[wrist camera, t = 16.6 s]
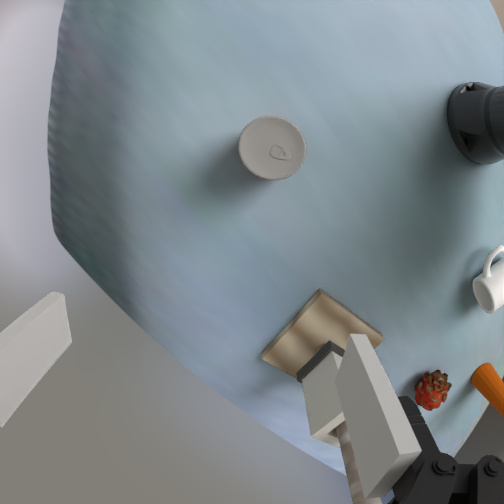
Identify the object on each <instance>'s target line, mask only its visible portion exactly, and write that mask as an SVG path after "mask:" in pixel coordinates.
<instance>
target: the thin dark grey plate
mask: <svg viewBox="0 0 504 504" xmlns="http://www.w3.org/2000/svg"><path fill="white" fill-rule="evenodd" d="M331 351H333V352H334V353H336V354H338V355H339V356H341V357H343V355H344V352H345V350H344V349H343V348H341V347H339V346H338V345H336V344H335V343H333V342H332V341H330V340H329V341H328V342H327V343H326V344H325V345H324V346H323V347H322V348H321V349H320V350H319V351H318V352H317V353H316V354H315V355H314V356H313V357H312V358H311V359H310V360H309V361H308V362H307V363H306V364H305V365H304V366H303V367H302V368H301V369H300V370H299V371H298V372H297V373H296V375H297V381H299V382H301V383H302V379H303V378H305V377H306V376H307V375H308V374H309V373H310V372H311V371H312V370H313V369H314V368H315V367H316V366H317V365H318V364H319V363H320V362H321V361H322V360H323V359H324V358H325V357H326V356H327V355H328V354H329V353H330V352H331Z"/></svg>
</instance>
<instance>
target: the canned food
mask: <svg viewBox="0 0 504 504" xmlns="http://www.w3.org/2000/svg"><path fill="white" fill-rule="evenodd" d="M238 152H239V156H240V159H241V161H242V163H243V164H244V166H245V167H246V168H247V169H248V170H249V171H250V172H251V173H252V174H254V175H256V176H258V177H260V178H263V179H267V180H280V179H285V178H287V177H289V176H291V175H292V174H294V173H295V172H296V171H297V170H298V169H299V168H300V167H301V165H302V164H303V162H304V159H305V155H306V143H305V140H304V137H303V135H302V133H301V132H300V130H299V129H298V128H297V127H296V126H295V125H294V124H293V123H291V122H290V121H288V120H286V119H284V118H281V117H276V116H265V117H260V118H258V119H255V120H253V121H252V122H250V123H249V124H248V125H247V126H246V127H245V128H244V129H243V131H242V133H241V135H240V138H239V141H238Z"/></svg>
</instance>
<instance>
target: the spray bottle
mask: <svg viewBox="0 0 504 504" xmlns="http://www.w3.org/2000/svg"><path fill="white" fill-rule="evenodd" d="M471 383H472V384H473V385H474V386H475V387H476V388H477V390H478V391H479V392H480V393H481V394H482V395H483V396H484V397H485V398H486V399H487V400H488V401H489V402H490V403H491V404H492V405H493V406H494V407H495V408H496V409H497V410H498V412H499V413H500V414H501V415H502V416H503V417H504V383H503V381H502V380H501V378H500V377H499V375H498V374H497V372H496V371H495V370H494V368H493V367H492V365H491V364H490V363H485V364H483V365H482V366H480V367H479V368H478V369H477V370H476V371H475V372H474V374H473V376H472V378H471Z"/></svg>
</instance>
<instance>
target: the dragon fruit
mask: <svg viewBox="0 0 504 504" xmlns="http://www.w3.org/2000/svg"><path fill="white" fill-rule="evenodd" d="M447 377H448V375H447V374H446V373H444V374H442V373H441V372H440V370H436V371H434V372H433V373H431V374H429V372H426V373H425V374H424V376H423V380H422V381H420V382H419V383H418V384H417V385H415V387H414V388H415V390H416V392H417V394H416V397H415V400H416V403H417V404H418V405H420V406H423V408H424V409H426V410H428V411H432V409H435V408H439V406H440V404H441V402H445V400H446V399H447V392H448V391H449V389H450V387H451V386H452V385H451V383H449V382H447Z"/></svg>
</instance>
